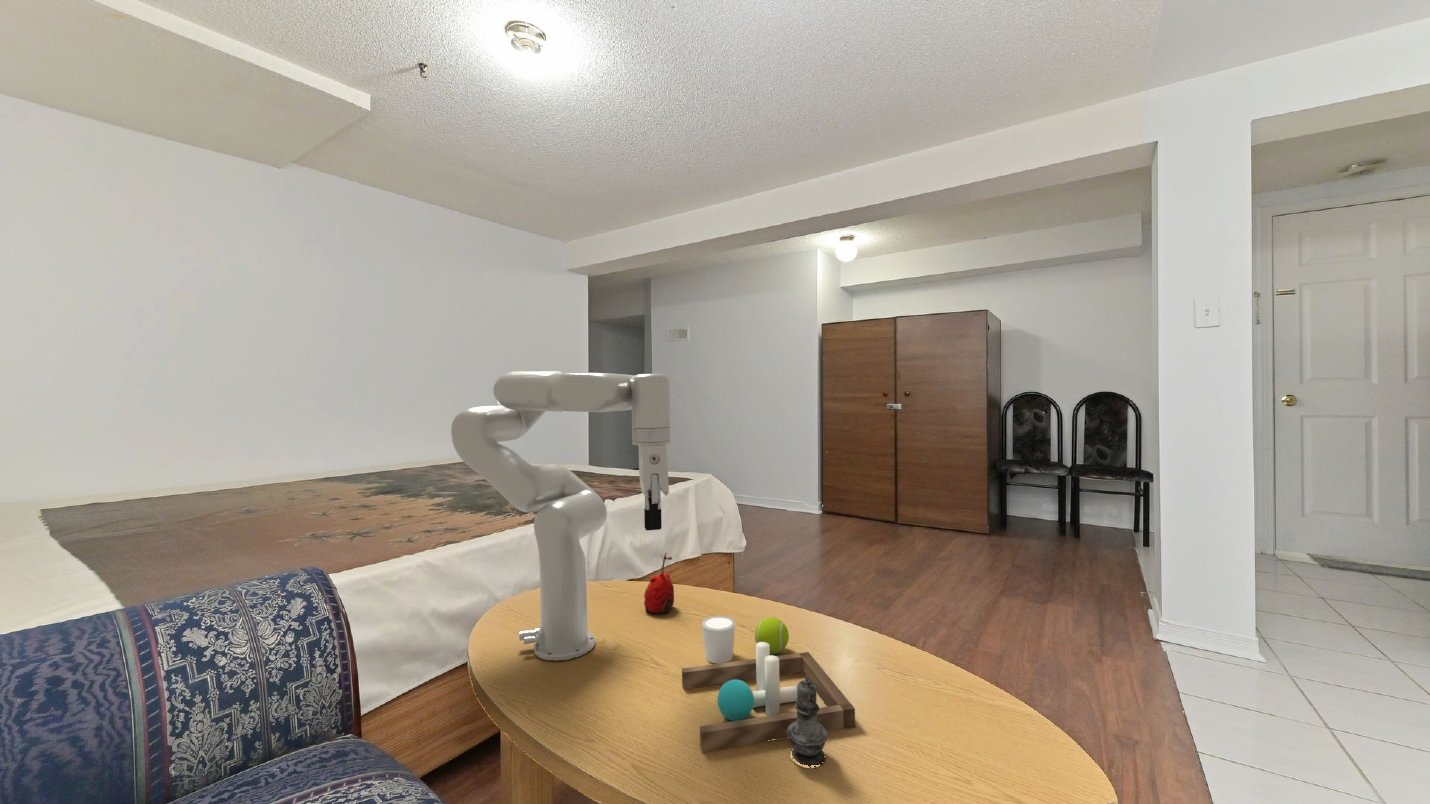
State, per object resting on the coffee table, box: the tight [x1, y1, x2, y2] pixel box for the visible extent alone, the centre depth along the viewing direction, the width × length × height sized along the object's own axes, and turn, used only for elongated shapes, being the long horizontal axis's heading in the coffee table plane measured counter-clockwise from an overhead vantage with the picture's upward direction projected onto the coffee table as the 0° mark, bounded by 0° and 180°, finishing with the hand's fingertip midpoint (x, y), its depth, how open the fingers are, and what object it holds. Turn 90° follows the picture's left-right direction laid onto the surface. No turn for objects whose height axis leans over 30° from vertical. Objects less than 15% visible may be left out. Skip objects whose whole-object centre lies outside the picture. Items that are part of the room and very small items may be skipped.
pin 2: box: [764, 654, 781, 716], centre depth 89 cm, size 2×2×9 cm
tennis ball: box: [754, 616, 790, 655], centre depth 109 cm, size 7×7×7 cm
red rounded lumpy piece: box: [643, 552, 675, 615], centre depth 131 cm, size 8×7×15 cm
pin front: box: [752, 684, 798, 708], centre depth 92 cm, size 2×2×9 cm
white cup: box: [701, 615, 736, 664], centre depth 108 cm, size 7×7×7 cm
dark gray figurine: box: [787, 676, 829, 768], centre depth 78 cm, size 6×6×12 cm
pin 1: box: [755, 642, 771, 691], centre depth 94 cm, size 2×2×9 cm
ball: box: [717, 680, 754, 722], centre depth 87 cm, size 6×6×6 cm
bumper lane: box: [681, 651, 856, 753], centre depth 91 cm, size 25×19×3 cm
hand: (653, 528), depth 105 cm, fingers closed
